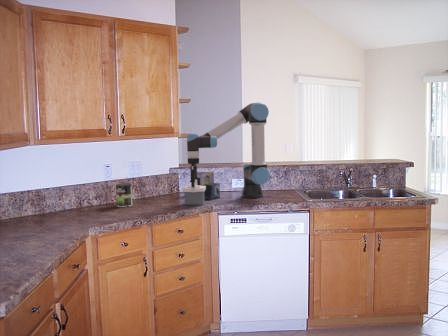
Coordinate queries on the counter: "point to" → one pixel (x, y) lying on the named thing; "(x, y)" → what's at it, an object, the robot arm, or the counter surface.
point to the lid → (197, 188)
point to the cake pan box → (205, 177)
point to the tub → (194, 198)
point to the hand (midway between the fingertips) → (194, 190)
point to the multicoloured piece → (124, 195)
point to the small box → (212, 191)
